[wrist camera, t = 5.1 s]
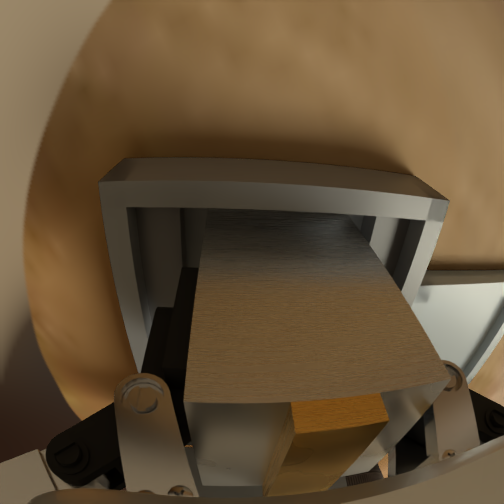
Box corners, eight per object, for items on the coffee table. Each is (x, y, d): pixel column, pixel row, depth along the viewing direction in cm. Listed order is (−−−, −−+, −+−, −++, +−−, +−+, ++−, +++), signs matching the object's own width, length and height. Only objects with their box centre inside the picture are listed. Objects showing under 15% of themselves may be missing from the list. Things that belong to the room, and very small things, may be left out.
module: (208, 208, 11) (180, 433, 4) (347, 214, 11) (462, 401, 4) (209, 316, 13) (202, 503, 7) (323, 317, 14) (372, 487, 7)
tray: (406, 270, 14) (417, 285, 13) (523, 269, 14) (533, 280, 13) (351, 395, 19) (355, 409, 18) (461, 374, 20) (467, 385, 19)
